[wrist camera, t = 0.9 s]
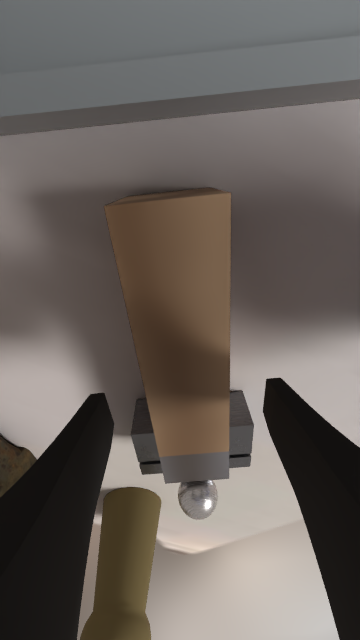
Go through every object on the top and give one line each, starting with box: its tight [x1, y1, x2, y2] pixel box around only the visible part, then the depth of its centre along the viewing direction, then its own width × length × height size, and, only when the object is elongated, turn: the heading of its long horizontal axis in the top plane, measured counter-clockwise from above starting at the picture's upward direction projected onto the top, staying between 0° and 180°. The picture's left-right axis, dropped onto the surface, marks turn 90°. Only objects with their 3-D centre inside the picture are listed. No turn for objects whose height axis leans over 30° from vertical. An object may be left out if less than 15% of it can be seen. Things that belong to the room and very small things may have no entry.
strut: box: [104, 188, 231, 484], centre depth 14 cm, size 4×16×5 cm, turn 5°
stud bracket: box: [131, 391, 254, 520], centre depth 18 cm, size 8×5×6 cm, turn 95°
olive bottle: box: [80, 487, 161, 640], centre depth 22 cm, size 6×6×11 cm
